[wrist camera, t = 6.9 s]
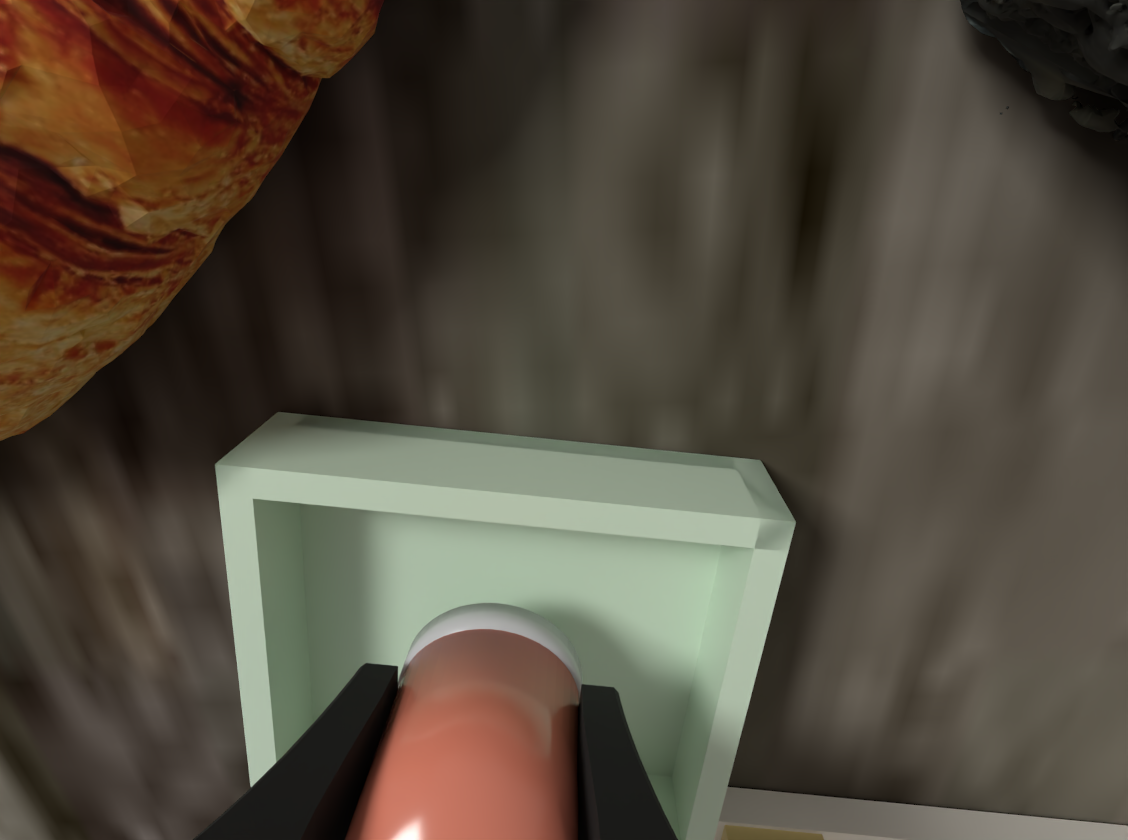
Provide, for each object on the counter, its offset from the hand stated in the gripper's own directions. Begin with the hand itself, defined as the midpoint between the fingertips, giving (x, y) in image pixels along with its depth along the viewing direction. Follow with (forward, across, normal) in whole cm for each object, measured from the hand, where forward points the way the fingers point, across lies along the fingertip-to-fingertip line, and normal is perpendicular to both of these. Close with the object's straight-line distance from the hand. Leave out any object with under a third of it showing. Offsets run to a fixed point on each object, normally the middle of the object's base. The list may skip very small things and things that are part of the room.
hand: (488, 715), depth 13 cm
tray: (+3, 0, 0) cm, 3 cm away
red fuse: (+1, 0, 0) cm, 1 cm away
